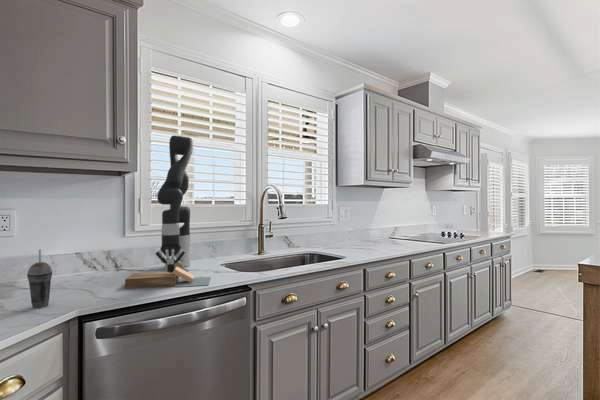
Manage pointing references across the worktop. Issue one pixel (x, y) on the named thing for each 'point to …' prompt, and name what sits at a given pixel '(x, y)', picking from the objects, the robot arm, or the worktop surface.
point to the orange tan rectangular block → (183, 274)
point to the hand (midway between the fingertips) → (170, 272)
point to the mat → (193, 282)
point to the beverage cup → (39, 283)
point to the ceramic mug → (177, 266)
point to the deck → (151, 280)
